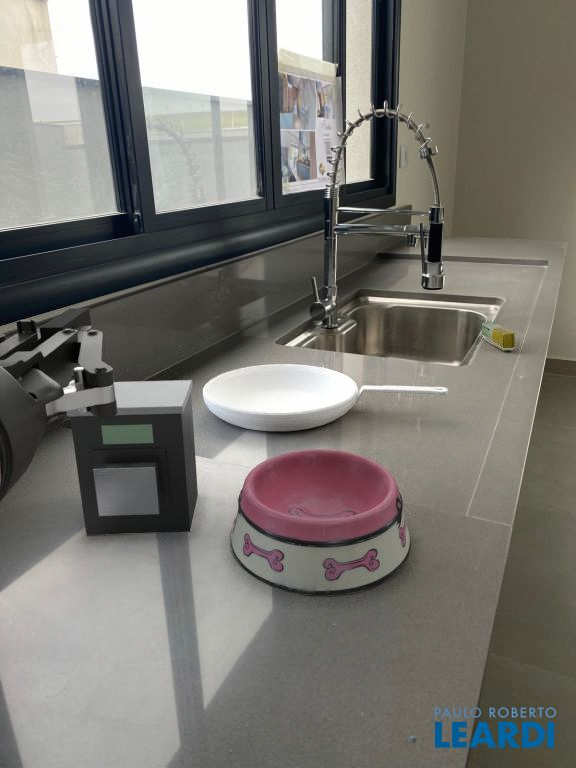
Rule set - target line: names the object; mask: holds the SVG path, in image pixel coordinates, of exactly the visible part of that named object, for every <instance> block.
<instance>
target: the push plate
mask: <svg viewBox="0 0 576 768" xmlns="http://www.w3.org/2000/svg"><path fill="white" fill-rule="evenodd" d="M93 473H94V481H95V488H96V496H97V504H98V512H99V516H116V515H148V514H159V513H160V510H161V500H160V489H159V478H158V467H157V462H144V463H109V464H96V465H95V467H94V468H93Z"/></svg>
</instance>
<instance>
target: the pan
mask: <svg viewBox="0 0 576 768" xmlns="http://www.w3.org/2000/svg"><path fill="white" fill-rule="evenodd" d="M364 392H383V393H392V394H393V393H395V394H424V395H438V396H439V395H441V396H444V395H447V394H448V393H449V389H448V387H445V386H420V385H419V386H417V385H416V386H415V385H414V386H413V385H388V384H387V385H386V384H385V385H384V384H383V385H369V384H368V385H367V384H365V385H362V386H361V387H360V388H359V387H358V384H357V382H356V381H355V380H354V379H352V378H351V377H350V376H348V375H346V374H344V373H342V372H339V371H337V370H333V369H330V368H327V367H320V366H316V365H307V364H293V363H284V364H283V363H275V364H273V363H272V364H260V365H252V366H247V367H246V366H245V367H241V368H240V367H239V368H236V369H233V370H229V371H226V372H223V373H220V374H219V375H216V376H215V377H213V378H211V379H209V381H207V382H206V383H205V385H204V387H203V388H202V398H203V402H204V404H205V406H206V407H207V408H208V410H209V411H210V412H211V413H212V414H213V415H215V416H216V417H217V418H219V419H220V420H222V421H224V422H226V423H228V424H231V425H233V426H236V427H240V428H243V429H248V430H255V431H263V432H292V431H294V432H295V431H301V430H302V431H303V430H309V429H313V428H317V427H321V426H324V425H326V424H329V423H332V422H334V421H336V420H338V419H339V418H341V417H342V416H344V415H345V414H346V413H348V412H349V411H350V410H351V409H352V408H353V407H354V405H355V404H357V403H358V402H359V400H360V398H361V397H362V395H363V393H364Z"/></svg>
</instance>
